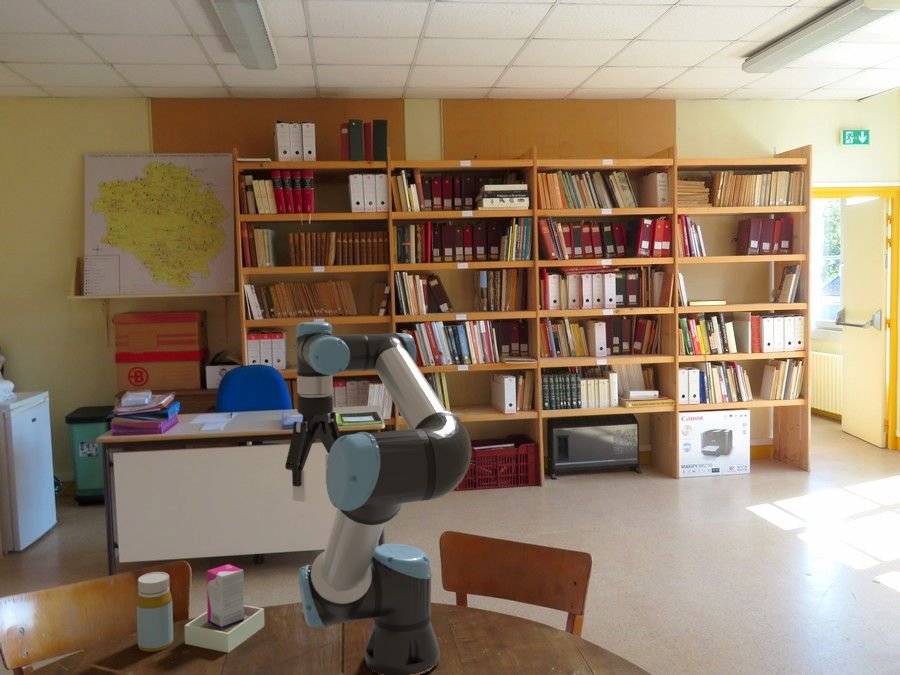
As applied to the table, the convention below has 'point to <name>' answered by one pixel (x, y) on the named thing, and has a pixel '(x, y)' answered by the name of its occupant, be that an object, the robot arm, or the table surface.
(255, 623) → the box
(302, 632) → the table surface
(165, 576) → the bottle
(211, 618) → the supplement box
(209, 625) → the walnut block
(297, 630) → the table surface
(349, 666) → the table surface
